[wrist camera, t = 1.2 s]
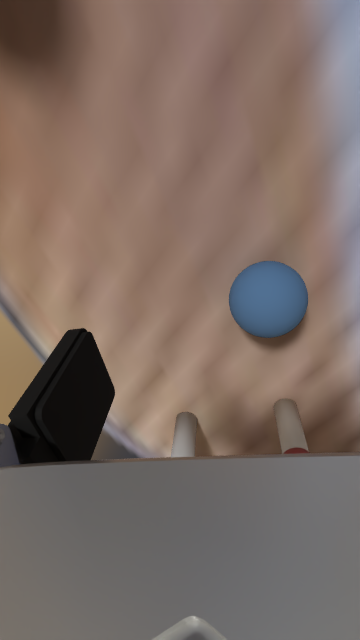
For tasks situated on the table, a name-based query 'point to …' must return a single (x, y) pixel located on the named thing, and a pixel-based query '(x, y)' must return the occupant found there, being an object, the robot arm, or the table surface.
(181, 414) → the grey pin
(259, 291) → the ball
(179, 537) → the robot arm
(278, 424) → the cream pin
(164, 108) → the table surface
